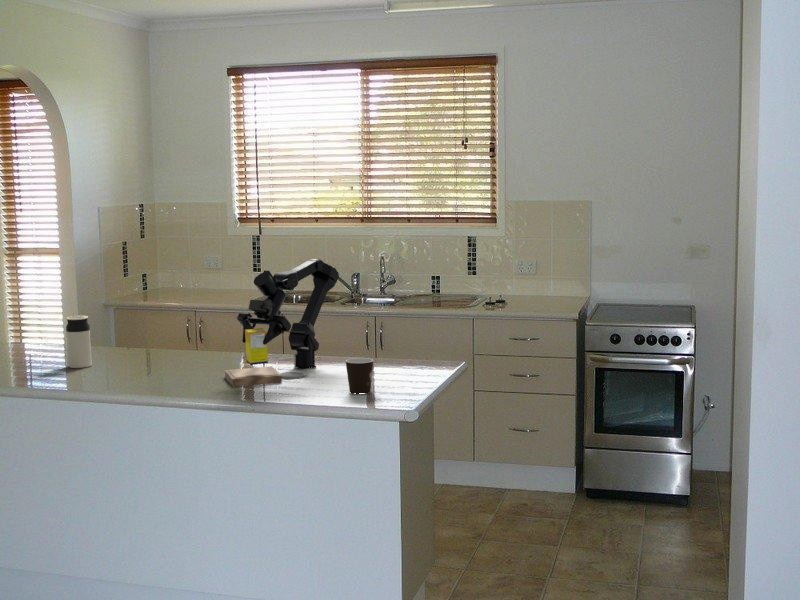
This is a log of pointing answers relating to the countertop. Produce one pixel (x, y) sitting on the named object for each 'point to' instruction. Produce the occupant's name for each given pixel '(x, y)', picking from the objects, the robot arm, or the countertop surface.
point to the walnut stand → (253, 376)
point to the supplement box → (256, 346)
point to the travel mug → (78, 342)
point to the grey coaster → (292, 375)
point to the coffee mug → (359, 374)
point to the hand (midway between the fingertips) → (253, 343)
